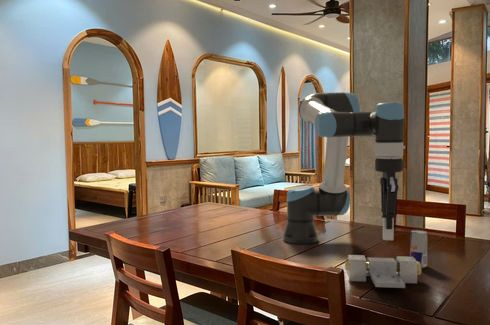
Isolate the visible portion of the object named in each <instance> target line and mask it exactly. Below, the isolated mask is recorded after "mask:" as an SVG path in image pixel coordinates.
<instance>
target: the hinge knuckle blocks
mask: <svg viewBox="0 0 490 325" xmlns="http://www.w3.org/2000/svg"><path fill="white" fill-rule="evenodd" d="M347 261H349V270H346V273H347V276H348V280H349V282H367V277H370V276H369V274H368V272H367V271H366V262H367V257H365V255H364V254H363V255H362V254H361V255H360V254H348V255H347ZM396 263H400V272H397V274H398V276H399V277H400V278H401V279H402V281H403V282H404V283H405V284H418V274H417V261H416V259H415V258H414V257H410V256H399V255H398V256H397V255H396Z"/></svg>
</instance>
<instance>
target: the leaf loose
mask: <svg viewBox="0 0 490 325" xmlns="http://www.w3.org/2000/svg"><path fill="white" fill-rule="evenodd" d="M366 262H369V271H367V272H368V274H369V276H368V277H370V279H371V282H372V283H373V284H374V287H375V288H395V289H397V288H398V289H406V283H404V282H403V281H402V279H401V278H400V277H399V276H398V274H397V268H396V263H397V260H396V259H395V258H394V257H366Z"/></svg>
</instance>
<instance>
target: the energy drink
mask: <svg viewBox="0 0 490 325" xmlns="http://www.w3.org/2000/svg"><path fill="white" fill-rule="evenodd" d="M409 236H410V241H409V242H410V243H409V246H410V250H409V251H410V252H409V254H410V255H409V257H414V258H415V259H416V261H417V262H420V263H421V269H425V268H427V267H428V232H427V231H425V230H421V229H413V230H411V231H410V235H409Z"/></svg>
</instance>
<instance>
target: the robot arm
mask: <svg viewBox="0 0 490 325" xmlns="http://www.w3.org/2000/svg"><path fill="white" fill-rule="evenodd" d="M404 107H405V106H404V104H403V103H402V102H394V101H393V102H380V103H377V104H376V106H375V111H361V106H360V102H359V98H358V97H357V95H356V94H355V93H352V92H342V91H341V92H316V93H312V94H309V95H307V96H306V97H304V98H303V99H302V100H301V101H300V102H299V104H298V108H297V109H298V115H299V116H300V118H301V119H302V120H303V121H304V122H306V123H310V124H313V125H314V130H315V134H316V136H318V137H320V138H326V145H325V157H324V169H323V178H322V180H323V181H322V182H320V183H319V185H318V188H317V189H315V188H314V186H312V185H306V186H305V185H303V186H296V187H293V188H292V187H291V188H289V190H288V191H287V192H286V225H285V228H284V232H283V235H282V240H283V241H284V242H286V243H288V244H294V245H310V244H315V243H317V242H318V241H319V234H318V231H317V228H316V226H315V221H314V220H315V217H326V216H327V217H328V216H329V217H331V216H334V217H337V216H344V215H345V214H347V213H348V211H349V209H350V205H351V194H350V193H351V192H350V191H349V190H348V188H347V186H346V184H345V183H344V182H345V172H346V162H347V155H348V154H347V153H348V143H349V138H350V137H353V138H354V137H355V138H357V137H358V138H359V137H371V138H372V137H373V138H374V137H375V142H374V156H375V157H376V158H375V160H374V170H375V171H376V172H378V173H382V177H380V180H379V183H380V201H381V202H380V203H381V204H380V205H381V206H380V207H381V214H382V215H381V218H382V240H383V241H394V232H395V231H394V226H395V225H394V224H395V223H394V220H395V218H396V216H397V203H398V202H397V201H398V200H397V199H398V190H399V184H398V178H396V173H402V172H403V171H404V159H403V158H402V157H403V156H404V150H405V149H406V146H405V145H404V136H405V135H404V134H405V111H404V110H405V109H404Z"/></svg>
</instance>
